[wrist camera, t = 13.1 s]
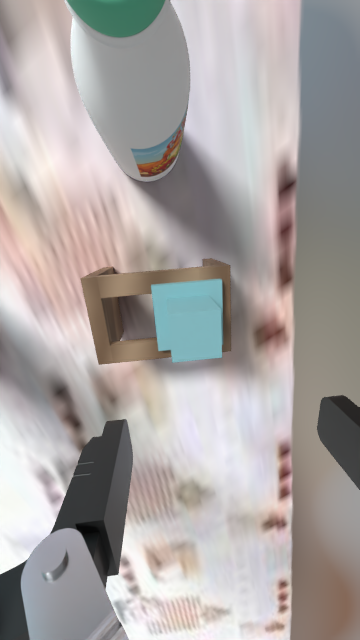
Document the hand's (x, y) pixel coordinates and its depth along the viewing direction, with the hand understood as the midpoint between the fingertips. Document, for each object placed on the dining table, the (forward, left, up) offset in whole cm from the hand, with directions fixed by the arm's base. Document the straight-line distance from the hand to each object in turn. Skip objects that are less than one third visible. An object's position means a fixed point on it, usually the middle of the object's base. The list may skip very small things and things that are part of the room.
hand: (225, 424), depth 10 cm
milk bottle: (-3, +18, -24) cm, 30 cm away
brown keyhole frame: (-3, 0, -24) cm, 24 cm away
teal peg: (0, 0, -19) cm, 19 cm away
